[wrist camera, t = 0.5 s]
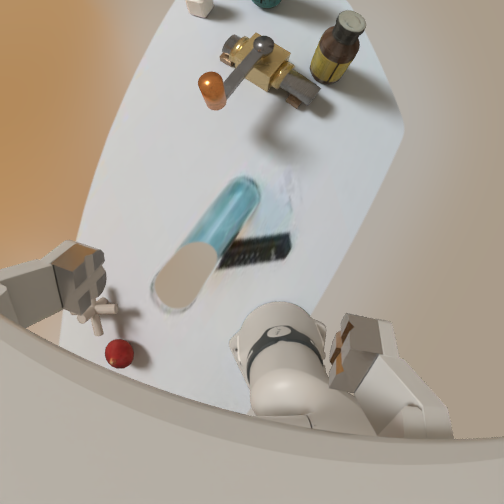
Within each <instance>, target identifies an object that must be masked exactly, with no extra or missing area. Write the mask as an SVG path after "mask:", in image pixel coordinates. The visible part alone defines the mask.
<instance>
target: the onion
mask: <svg viewBox="0 0 504 504" xmlns="http://www.w3.org/2000/svg"><path fill="white" fill-rule="evenodd" d="M133 355H134V352H133V349H132V347H131V345H130V344H129V343H128V342H127V341H125V340H122V339H115V340H113V341H111V342H109V344H108V345H107V347H106V349H105V357H106V360H107V362H108V363H109V364H110V365H111V366H112V367H115V368H125V367H127V366H129V365H130V364H131V362H132V360H133Z"/></svg>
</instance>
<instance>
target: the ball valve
mask: <svg viewBox="0 0 504 504" xmlns="http://www.w3.org/2000/svg"><path fill="white" fill-rule="evenodd" d="M259 36H261V35H259V34H258V33H255V34H254V35H253V36H252V37H251V38H248V37H246V36H244V37H242V38H240V37H238V36H237V35H232V36H231V37H230V38H229V39H228V40H227V41H226V42H225V44H224V46H223V49H222V52H223V53H222V54H221V56H220V61H222V62H223V63H225V64H227V65H229V66H230V67H231V66H232V65H233V64H234V63H235V69H236V67H237V66H238V65H239V64H240V63H241V62H242V60H243V59H244V58H245V57H246V56H247V55H248V54H249V52H250V51H251V50H252V49H253V42H254V40H255V39H256V38H257V37H259ZM290 54H291V53H290V52H288V51H286V50H285V49H283V48H282V47H280V46H278V45H277V44H275V43H274V49H273V52H272V53H271V54H270V55H268V56H263V57H262V58H261V60H260V61H259V62H258V63H257V64H256V65H255V66H254V68H253V69H252V70H251V71H250V72H249V74H248V75H247V76H246V77H245V78H246V79H247V80H249V81H250V82H252V83H254V84H255V85H257V86H258V87H260V88H261V89H263V90H265V91H266V92H268V90H269V89H270V88H271V87H272V86H273V87H274V88H276V89H277V90H278V89H279V88H280V87H281V88H283V89H284V90H286V91H287V92H289V93H290V95H289V97H288V98H287V100H286V102H287V103H289V104H290V105H292V106H293V107H294V108H296V109H297V108H298V107H299V105H300V104H301V103H302V102H303V103H305V104H306V105H307V106H308V105H309V104H310V102H311V101H312V100H313V99H314V97H315V96H316V95H317V93H318V92H319V91H320V89H321V88H320V87H319V86H317V85H316V84H314V83H313V82H311V81H310V80H309V79H307V78H306V77H304V76H303V75H301V74H300V73H298V72H297V71H295V70H294V68H295V66H294V65H293V64H291V63H290V62H288V60H289V57H290Z"/></svg>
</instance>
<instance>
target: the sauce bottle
mask: <svg viewBox="0 0 504 504" xmlns="http://www.w3.org/2000/svg"><path fill="white" fill-rule="evenodd" d="M365 28H366V22H365V19H364V18H363V17H362V16H361V15H360V14H358V13H356V12H354V11H349V10H348V11H343V12H341V13H340V14H339V16H338V17H337V20H336V25H335V26H333V27H330V28H328V29H327V30H326V31H325V32H324V33H323V35H322V37H321V39H320V41H319V44H318V46H317V48H316V51H315V53H314V56H313V58H312V61H311V65H310V71H311V74H312V76H313V77H314V79H315V80H316V81H318V82H320V83H323V84H332V83H335V82H336V81H338V80H339V79H340V78H341V76H342V75H343V73H344V72H345V71H346V69H347V68H348V66H349V65H350V63H351V62H352V61H353V59H354V58H355V56H356V54H357V52H358V51H359V46H360V44H359V39H358V37H359V35H361V34H362V33H363V32H364V30H365Z"/></svg>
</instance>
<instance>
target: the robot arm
mask: <svg viewBox="0 0 504 504" xmlns="http://www.w3.org/2000/svg"><path fill="white" fill-rule="evenodd" d="M104 261H105V260H104V253H103V252H102V251H101V250H100V249H97V248H94V247H91V246H88V245H84V244H81V243H78V242H75V241H72V240H66V241H64V242H63V243H61V244H60V245H59V246H57V247H56V248H55V249H53V250H52V251H51V252H49V253H48V254H47V255H46V256H44V257H43V258H42V259H41V260H38V259H36V260H32V261H28V262H25V263H21V264H18V265H15V266H11V267H7V268H4V269H0V504H504V436H503V437H491V438H476V439H454V438H453V432H452V427H451V423H450V417H449V412H448V408H447V407H446V406H445V405H444V403H443V402H442V401H441V400H440V399H439V398H438V397H437V395H436V394H435V393H434V392H433V391H432V390H431V389H430V388H429V387H428V385H427V384H426V383H425V382H424V381H423V380H422V378H421V377H420V376H419V375H418V374H417V373H416V372H415V371H414V370H413V368H412V367H411V366H410V365H409V364H408V363H407V362H406V361H405V360H404V359H403V358H399V353H398V348H397V343H396V338H395V335H394V330H393V325H392V323H391V322H390V321H386V320H380V319H372V318H367V317H363V316H358V315H353V314H348V313H346V314H345V315H344V317H343V319H342V321H341V330H340V331H339V332H337V333H336V335H335V337H334V339H333V342H332V346H331V350H330V362H331V364H332V367H331V369H330V371H329V377H328V375H327V374H326V371H325V366H324V365H323V359H325V352H324V345H325V337H326V327H325V325H324V324H323V323H321V322H319V321H317V320H314V319H312V318H311V317H310V316H309V315H308V314H307V313H306V312H305V311H304V310H303V309H302V308H300V307H298V306H296V305H294V304H291V303H287V302H271V303H267V304H264V305H262V306H260V307H258V308H256V309H255V310H254V311H252V312H251V313H250V314H249V315H248V317H247V318H246V319H245V321H244V323H243V325H242V327H241V329H240V331H239V332H238V333H237V334H235V335H234V336H233V337H232V338H231V339H230V341H229V347H230V349H231V351H232V353H233V356H234V358H235V360H236V362H237V364H238V366H239V368H240V371H241V373H242V375H243V377H244V379H245V381H246V383H247V385H248V387H249V390H250V403H251V407H252V409H253V411H254V413H255V415H256V416H249V415H245V414H241V413H237V412H233V411H229V410H226V409H222V408H218V407H215V406H211V405H208V404H204V403H201V402H198V401H194V400H191V399H188V398H185V397H182V396H179V395H176V394H173V393H170V392H167V391H164V390H161V389H158V388H155V387H153V386H150V385H147V384H144V383H142V382H139V381H137V380H134V379H131V378H129V377H126V376H124V375H121V374H119V373H116V372H114V371H112V370H109V369H107V368H105V367H102V366H100V365H98V364H95V363H93V362H91V361H89V360H87V359H84V358H82V357H80V356H78V355H76V354H74V353H72V352H70V351H68V350H66V349H64V348H62V347H60V346H58V345H55V344H54V343H52V342H50V341H48V340H46V339H44V338H42V337H40V336H38V335H37V334H35V333H33V332H31V331H29V330H28V329H26V328H27V327H29V326H31V325H33V324H35V323H37V322H39V321H41V320H43V319H45V318H47V317H49V316H51V315H53V314H55V313H57V312H59V311H61V310H63V309H65V310H68V311H70V312H73V313H75V314H78V315H80V316H82V314H83V313H84V312H85V311H86V310H87V309H88V308H89V307H90V306H91V304H92V303H91V299H94V298H97V297H99V296H100V294H101V293H102V292H103V290H104V288H105V285H106V271H105V270H104V268H103V267H102V264H103V263H104ZM236 348H238V350H236ZM348 392H350V393H354V396H353V395H351V394H350V393H348Z"/></svg>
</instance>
